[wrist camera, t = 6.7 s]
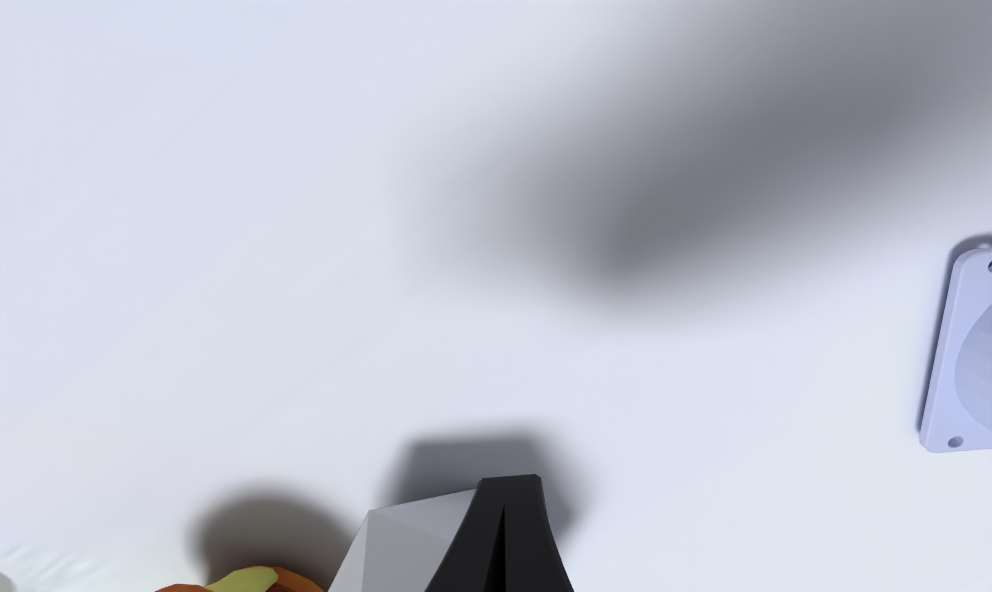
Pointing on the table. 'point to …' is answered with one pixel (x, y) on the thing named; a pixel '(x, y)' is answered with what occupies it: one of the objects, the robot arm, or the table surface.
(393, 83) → the table surface
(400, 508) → the die
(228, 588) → the cheeseburger
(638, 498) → the table surface
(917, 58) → the table surface
